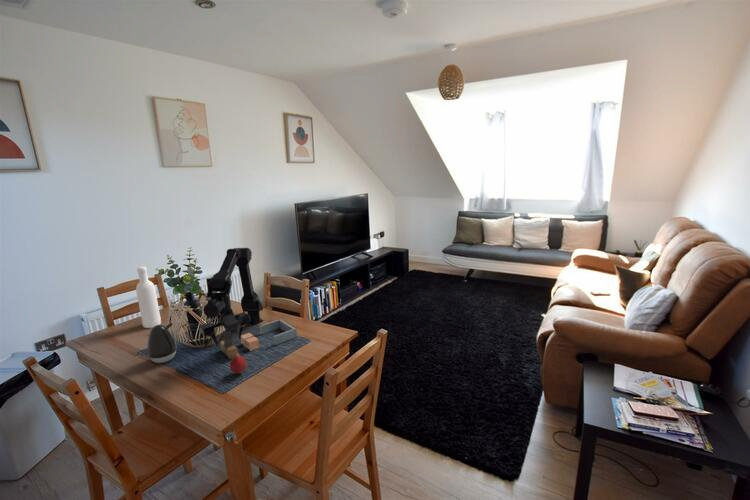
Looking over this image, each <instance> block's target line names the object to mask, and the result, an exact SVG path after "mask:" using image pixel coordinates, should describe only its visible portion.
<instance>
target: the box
mask: <svg viewBox="0 0 750 500" xmlns="http://www.w3.org/2000/svg"><path fill="white" fill-rule="evenodd" d="M258 327H259V333H260V335H264V334H267V333H270V332H272V331H276V330H278V329H281V330H282V331H284V332H281V333H278V334H276V335H273V343H274V346H277V345H280V344H282V343H285V342H287V341H291V340H293V339H296V338H297V337H298V336H297V335H298V334H297V333H298V332H297V328H295V327H294V326H292V325H290V324H289V323H287V322H285V320H283V319H280V318H278V319H277V320H274V321H273V320H272V321H271V322H268V323H264V324H262V325H259V326H258Z"/></svg>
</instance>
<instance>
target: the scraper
mask: <svg viewBox="0 0 750 500" xmlns="http://www.w3.org/2000/svg"><path fill="white" fill-rule="evenodd" d="M222 337H223V340H221V341H220V342H219V343H220V345H219V346H220V350H221V352H223V353H224V354H225V356H227V357H228V358H229V360H231V359H233V358H234V357H235V356H236V355H237V354H239V351H238V350H239V349H238V347H236V346H235V345H234V343H233V337H232V330H230V331H226V330H223V331H222Z"/></svg>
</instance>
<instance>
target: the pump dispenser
mask: <svg viewBox="0 0 750 500" xmlns="http://www.w3.org/2000/svg"><path fill="white" fill-rule="evenodd" d="M173 325H174V324H173V322H170V323H168V324H167V325H163V324H160V325H156V326H154V327H152V328H150V329H151V330H150V332H149V335H148V338H147V344H146V345H147V346H146V347H147V349H146V350H147V356H148V358H149V359H150V360H151V361H152V362H154V363H156V364H163V363H167V362H170V360H172V359H173V358H174V357H175V355H176V353H177V349H178V346H177V343H176V340H175V338H174V336H173V334H172V332H171V330H170V328H171V327H172V326H173Z"/></svg>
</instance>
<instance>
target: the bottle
mask: <svg viewBox="0 0 750 500" xmlns="http://www.w3.org/2000/svg"><path fill="white" fill-rule="evenodd" d="M147 270H148V269H147V266H138V267H137V268H136V271H137V275H138V279H139V282H138V283H137V284H136V287H135V291H136V297H137V301H138V307H139V312H140V317H141V325H142V327H143V328H144V329H145V328H146V329H152V328H153V327H154V326H156V325H162V318H161V313H160V307H159V302H158V298H157V291H156V288H155V287H156V286H155V283H153V282H152V281H151V280H149V275H148V271H147Z"/></svg>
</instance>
